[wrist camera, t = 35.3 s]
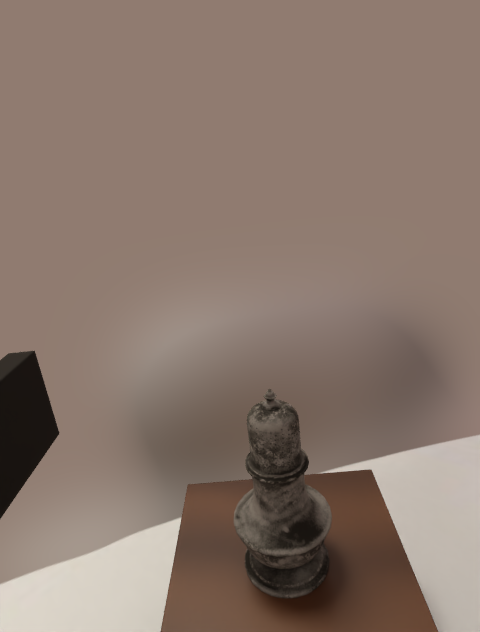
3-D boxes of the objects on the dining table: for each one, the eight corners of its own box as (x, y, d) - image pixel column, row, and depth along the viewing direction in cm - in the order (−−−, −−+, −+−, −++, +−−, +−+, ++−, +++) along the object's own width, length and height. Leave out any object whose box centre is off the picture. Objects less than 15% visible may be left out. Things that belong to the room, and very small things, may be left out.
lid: (189, 492, 35) (187, 484, 35) (371, 477, 34) (371, 469, 34) (152, 699, 21) (150, 688, 21) (454, 682, 21) (454, 671, 20)
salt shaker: (260, 513, 31) (242, 361, 27) (343, 535, 28) (336, 370, 25) (224, 584, 26) (195, 410, 22) (320, 618, 23) (306, 427, 20)
